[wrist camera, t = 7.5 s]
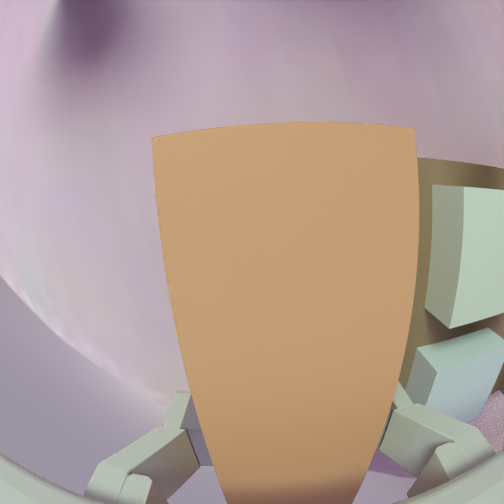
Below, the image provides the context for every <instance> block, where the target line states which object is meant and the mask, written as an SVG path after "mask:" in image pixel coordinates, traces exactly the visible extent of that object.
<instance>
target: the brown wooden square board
mask: <svg viewBox="0 0 504 504" xmlns="http://www.w3.org/2000/svg"><path fill="white" fill-rule="evenodd" d="M417 163H418V180H419V244H418V261H417V274H416V284H415V293H414V301H413V308H412V315H411V321H410V327H409V333H408V339H407V344H406V349H405V354H404V358H403V363H402V367H401V371H400V375H399V379H398V381H399V382H400V384H401V385H402V387H403V388H404V390H406V387H407V383H408V380H409V376H410V373H411V369H412V365H413V361H414V357H415V353H416V348H418V347H422V346H426V345H430V344H434V343H438V342H442V341H445V340H449V339H453V338H456V337H460V336H463V335H466V334H469V333H473V332H476V331H479V330H482V329H485V328H490V329H491V330H492V331H494V332H495V333H496V334H498V335H499V336H500V337H501V338H503V339H504V313H501V314H498V315H495V316H492V317H489V318H485V319H482V320H479V321H476V322H472V323H469V324H465V325H462V326H458V327H454V328H450V329H449V328H448V327H447V326H445V325H444V324H443V323H442V322H441V321H440V320H438V319H437V318H436V317H435V316H434V315H433V314H431V313H430V312H429V311H428V310H427V309H425V308H424V307H425V300H426V293H427V286H428V277H429V267H430V256H431V240H432V185H447V186H463V187H477V188H488V189H499V190H504V169H502V168H496V167H490V166H484V165H478V164H471V163H464V162H456V161H447V160H438V159H428V158H417ZM503 387H504V362H503V365H502V367H501V370H500V372H499V375H498V377H497V379H496V382H495V384H494V386H493V388H492V391H491V393H490V394H492V393H494V392H496V391H497V390H499V389H501V388H503Z"/></svg>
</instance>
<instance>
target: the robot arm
mask: <svg viewBox="0 0 504 504" xmlns="http://www.w3.org/2000/svg"><path fill="white" fill-rule="evenodd" d="M377 449H379V451H381V452H382V453H383V454H385V455H386V456H388V457H389V458H390V459H392V460H393V461H394V462H396V463H397V464H398V465H400V466H401V467H403V468H404V469H405V470H407V471H408V472H410V473H411V474H413V475H414V476H415V477H417V480H416V481H415V483H414V484H413V485H412V487H411V488H410V489H409V491H408V493H407V495H408V499H405V500H402V501H399V502H396V503H393V504H504V449H503V450H501V451H500V452H498V453H497V454H496V453H495V452H494V450H493V449H492V447H491V446H490V445H489V443H488V442H487V440H486V439H485V438H484V436H483V435H482V433H481V432H480V431H479V429H478V428H477V427H475V426H472V425H469V424H467V423H464V422H462V421H459V420H457V419H454V418H452V417H449V416H447V415H445V414H442V413H440V412H438V411H435V410H433V409H431V408H428V407H426V406H424V405H421V404H419V403H416V404H413V402H412V401H411V399H410V398H409V396H408V394H407V393H406V391H405V390H404V388H403V387H402V385H401V384H400V382H399V381H398V383H397V387H396V391H395V394H394V398H393V401H392V405H391V408H390V411H389V414H388V417H387V421H386V424H385V426H384V429H383V432H382V435H381V438H380V441H379V443H378V446H377ZM377 449H376V450H377ZM199 465H202V466H213V463H212V460H211V457H210V454H209V451H208V448H207V445H206V442H205V439H204V436H203V433H202V429H201V426H200V423H199V419H198V416H197V413H196V409H195V405H194V402H193V398H192V394H191V392H186V391H177V392H176V393H175V394H174V396H173V399H172V401H171V404H170V407H169V409H168V412H167V415H166V418H165V420H164V423H163V425H162V427H156V428H154V429H153V430H151V431H150V432H149V433H147V434H145V435H144V436H142V437H141V438H139V439H138V440H136V441H135V442H133V443H132V444H130V445H129V446H127V447H125V448H124V449H122V450H120V451H119V452H117V453H116V454H114V455H112V456H111V457H109V458H107V459H106V460H104V461H102V462H100V463H99V464H98V466H97V468H96V470H95V472H94V475H93V476H92V478H91V480H90V482H89V485H88V486H87V489H86V491H85V493H84V495H83V496H82V495H80V494H77V493H75V492H73V491H70V490H68V489H65V488H63V487H61V486H59V485H57V484H55V483H53V482H50V481H48V480H46V479H44V478H43V477H40V476H39V475H37V474H35V473H33V472H31V471H29V470H28V469H26V468H24V467H22V466H21V465H19V464H17V463H16V462H14V461H12V460H11V459H9V458H8V457H6V456H5V455H3V454H2V453H0V504H168V502H167V501H166V500H167V499H168V498H169V497H170V496H171V495H172V494H173V493H174V492H176V491H177V489H179V488H180V487H181V486H182V484H184V483H185V482H186V481H187V480H188V479H189V478H190V477H191V476H192V475H193V474H194V473H195V472H196V470H197V469H198V468H199V467H200V466H199Z"/></svg>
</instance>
